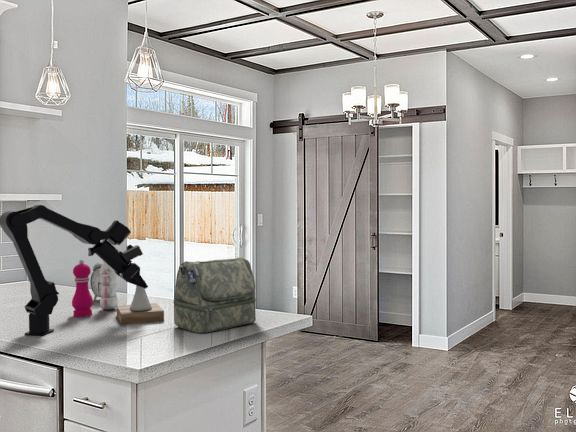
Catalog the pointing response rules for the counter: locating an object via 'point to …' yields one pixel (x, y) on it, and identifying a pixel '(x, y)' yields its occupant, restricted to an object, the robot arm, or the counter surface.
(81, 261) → the pepper mill
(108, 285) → the plastic bottle
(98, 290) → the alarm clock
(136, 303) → the flask
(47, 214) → the robot arm
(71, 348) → the counter surface
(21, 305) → the counter surface
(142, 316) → the board
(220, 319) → the lunch bag
